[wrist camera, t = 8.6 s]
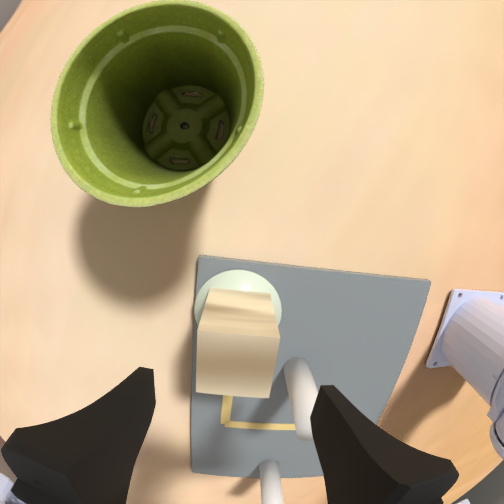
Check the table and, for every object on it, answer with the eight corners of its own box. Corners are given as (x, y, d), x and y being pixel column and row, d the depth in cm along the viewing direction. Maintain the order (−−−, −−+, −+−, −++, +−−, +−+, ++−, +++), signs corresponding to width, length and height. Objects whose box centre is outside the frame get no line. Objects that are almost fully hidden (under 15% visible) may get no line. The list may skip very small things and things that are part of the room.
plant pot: (112, 190, 19) (38, 199, 10) (133, 65, 17) (78, 11, 8) (244, 204, 19) (245, 220, 11) (264, 70, 17) (277, 3, 9)
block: (262, 344, 21) (268, 398, 15) (207, 339, 20) (195, 392, 15) (269, 293, 20) (280, 337, 14) (210, 287, 20) (197, 330, 14)
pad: (287, 274, 20) (288, 275, 20) (273, 350, 21) (274, 352, 21) (198, 264, 20) (197, 265, 19) (193, 341, 21) (192, 344, 21)
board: (427, 279, 21) (485, 316, 14) (346, 469, 27) (362, 517, 19) (199, 254, 20) (176, 296, 13) (192, 468, 26) (184, 522, 18)
